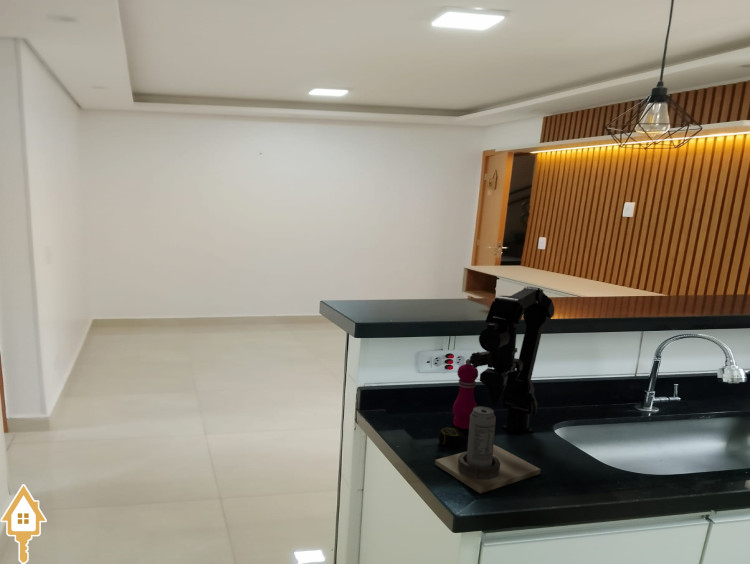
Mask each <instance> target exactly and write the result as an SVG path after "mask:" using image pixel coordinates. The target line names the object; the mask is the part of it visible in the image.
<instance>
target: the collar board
mask: <svg viewBox="0 0 750 564" xmlns="http://www.w3.org/2000/svg"><path fill="white" fill-rule="evenodd" d="M434 462H435V463H434V465H436V466H437V467H438V468H440V469H441V470H442V471H445V472H446V473H448V474H450V475H451V476H453V478H455V479H457V480H458V481H460V482H462V483H463V484H464V485H466V486H468V488H469V487H470V488H471V489H472V490H474V491H475V492H477V493H479V494H483V493H485V492H489V491H492V490H495V489H498V488H501V487H504V486H507V485H510V484H513V483H517V482H519V481H522V480H526V479H529V478H532V477H534V476H538V475H541V468H539V467H537V466H536V465H533V464H532V463H529V462H528V461H526V460H524V459H521V458H520V457H519V456H517V455H514V454H512V453H511V452H509V451H508V450H505V449H503V448H501V447H499V446H497V445H495V444H494V446H493V458H492V466H490V467H476V466H472V465H469V464H468V463H467V451H464V452H460V453H456V454H453V455H452V454H451V455H449V456H445V457H441V458H438V459H435V461H434Z"/></svg>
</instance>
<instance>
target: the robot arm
mask: <svg viewBox="0 0 750 564" xmlns="http://www.w3.org/2000/svg"><path fill="white" fill-rule="evenodd" d="M554 314H555V305H554V302H553V300H552V298H550V297H549V296H547V294H546V293H545V292H544V290H543V289H542V288H540V287H535V286H524V287H523V289H521V290H519V291H518V292H516V293H513V294H512V295H497V296H496V297H495V298H494V299H493V300H492V302H491V305H490V307H489V310H488V313H487V316H486V319H485V323H486V324H487V326H486V327H487V328H485V329H484V330H482V331H481V333H480V334H479V337H478V342H479V345H480V346H481V348H482V349H483V350H484V351H481V352H479V351H477V352H473V353H471V356H470V357H469V359H470V361H469V362H470V363H471V365H473V368H477V369H478V367H484V366H487V368H486V369H485V370H483V371H482V372H481V373H480V374H479V382H481V383H482V384H483V385H484V386H485V387H487V390H488V393H489V399H490V402H491V406H492V407H493V408H496V407H498V405H499V403H500V400H502V408H503V409H508V410H507V414H506V424H505V425H504V424H503V425H502V428H503V429H505V430H507V431H510V432H511V433H513V434H515V435H517V436H521V435H525V434H527V433H532V432H534V429H533V428H531V427H530V425H531V423H530V422H531V416H532V415H536V414H537V410H538V402H537V399H536V395H535V386H534V384H533V381H532V376H533V372H534V368H535V364H536V359H537V354H538V350H539V347H540V342H541V337H542V332H543V331H544V330H545V329H546V328H547V327H548V326H549V325H550V324H551V320H552V318H553V317H554ZM522 319H523V322H524V325H525V330H524V334H523V340H522V343H521V347H520V352H519V356H518V358H515V357H516V353H518V348H517V346H516V344H517V334H518V332H517V331H518V326H519V325H520V323H521V320H522ZM501 398H502V399H501Z"/></svg>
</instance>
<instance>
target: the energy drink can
mask: <svg viewBox="0 0 750 564" xmlns="http://www.w3.org/2000/svg"><path fill="white" fill-rule="evenodd" d="M495 415H496V414H495V411H494V409H492V408H491V407H488V406H483V405H481V406H477V407H474V408H473V412H472V413H471V415H470V424H469V429H468V437H467V451H466V452H467V463H468V464H469V465H472V466H476V467H490V466H492V458H493V446H494V445H495V444H494V443H495V442H494V441H495V431H496V420H497V417H496V416H495Z"/></svg>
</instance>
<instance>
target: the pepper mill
mask: <svg viewBox="0 0 750 564" xmlns="http://www.w3.org/2000/svg"><path fill="white" fill-rule="evenodd" d="M469 361H470V358H468V359H466V360H465V363H463V364H461V365H460V366H459V367H458V369H457V372H456V373H457V377H458V378H459V379H458V383H457V384H458V386H459V389H458V390H459V391H458V395H457V397H456V399H455V401H454V403H453V406H452V414H453V415H454V417H453V425H454V427H455V428H458V427H459V429H463V430H469V424H470V415H471V413H472V412H473V408H474V407H478V406H477V402H476V401H475V396H474V395H475V394H474V390H475V387H476V386H477V385H476V383H477V381H476V379H478V378H479V377H478V376H479V370H478V367H477V368H473V365H472V364H471V363H470V362H469Z"/></svg>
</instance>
